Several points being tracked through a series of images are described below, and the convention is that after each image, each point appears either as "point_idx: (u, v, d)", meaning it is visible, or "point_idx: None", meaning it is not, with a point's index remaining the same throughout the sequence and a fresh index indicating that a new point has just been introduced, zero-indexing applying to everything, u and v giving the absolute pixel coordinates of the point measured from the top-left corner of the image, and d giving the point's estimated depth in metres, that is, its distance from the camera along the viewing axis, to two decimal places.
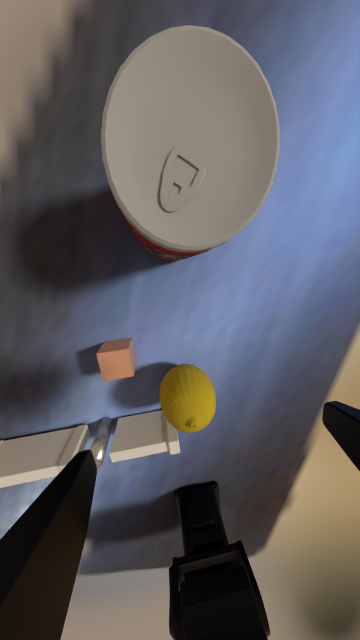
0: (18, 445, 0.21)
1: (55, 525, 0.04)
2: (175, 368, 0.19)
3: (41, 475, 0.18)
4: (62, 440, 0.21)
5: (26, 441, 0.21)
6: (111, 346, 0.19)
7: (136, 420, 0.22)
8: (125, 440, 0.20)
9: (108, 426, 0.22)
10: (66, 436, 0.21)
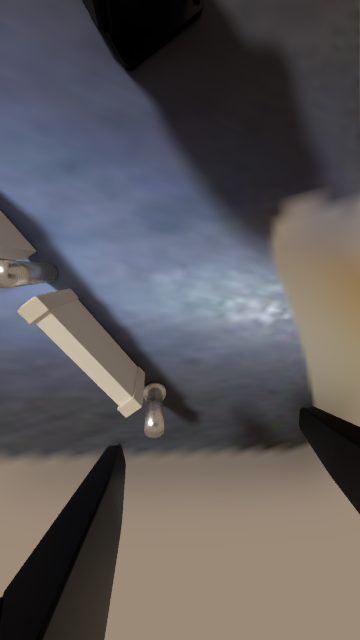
0: None
1: (99, 516, 0.04)
2: None
3: (64, 336, 0.12)
4: None
5: None
6: None
7: None
8: None
9: None
10: None
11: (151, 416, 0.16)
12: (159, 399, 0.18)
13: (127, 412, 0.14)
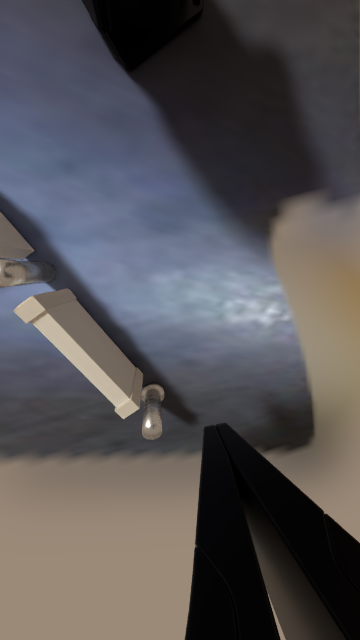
0: None
1: (235, 484, 0.05)
2: None
3: (61, 336, 0.12)
4: None
5: None
6: None
7: None
8: None
9: None
10: None
11: (148, 418, 0.16)
12: (157, 400, 0.18)
13: (124, 413, 0.14)
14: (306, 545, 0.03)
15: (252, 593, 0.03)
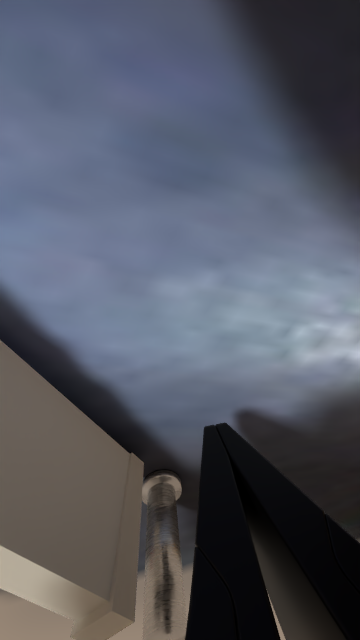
0: None
1: (235, 484, 0.05)
2: None
3: None
4: None
5: None
6: None
7: None
8: None
9: None
10: None
11: (157, 600, 0.07)
12: (172, 521, 0.09)
13: (97, 638, 0.06)
14: (306, 545, 0.03)
15: (252, 593, 0.03)
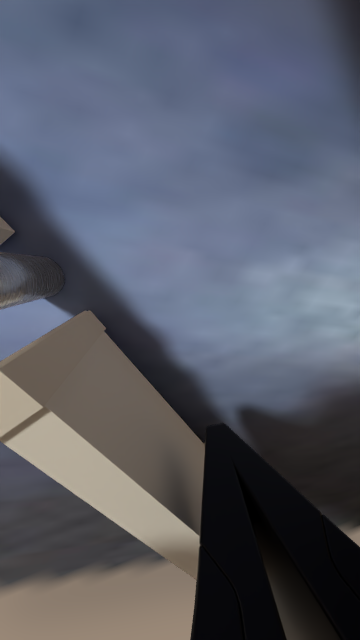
0: None
1: (238, 484, 0.05)
2: None
3: (89, 467, 0.04)
4: None
5: None
6: None
7: None
8: None
9: None
10: None
11: None
12: None
13: None
14: (303, 546, 0.03)
15: (257, 592, 0.03)
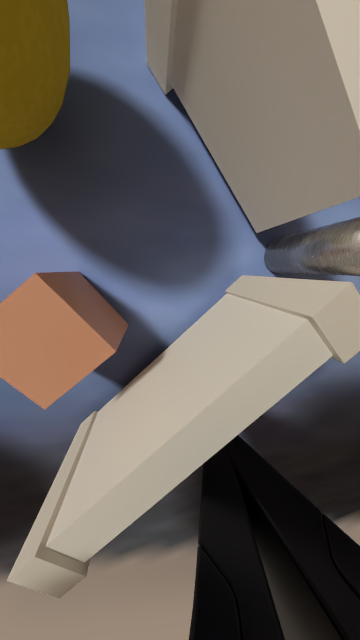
0: (129, 395, 0.08)
1: (237, 483, 0.05)
2: None
3: (261, 395, 0.04)
4: (221, 318, 0.07)
5: (140, 380, 0.08)
6: None
7: (237, 171, 0.07)
8: (304, 155, 0.04)
9: (283, 249, 0.07)
10: (222, 311, 0.07)
11: None
12: None
13: (29, 578, 0.05)
14: (303, 545, 0.03)
15: (256, 592, 0.03)
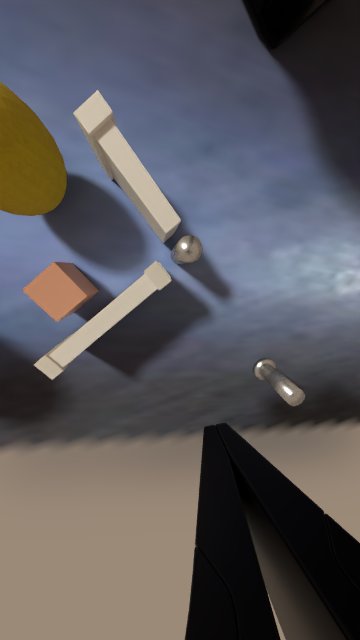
0: None
1: (235, 484, 0.05)
2: None
3: (131, 301, 0.12)
4: None
5: None
6: None
7: (144, 216, 0.14)
8: (151, 218, 0.12)
9: (172, 251, 0.15)
10: None
11: (289, 386, 0.16)
12: None
13: (41, 365, 0.12)
14: (306, 545, 0.03)
15: (252, 593, 0.03)
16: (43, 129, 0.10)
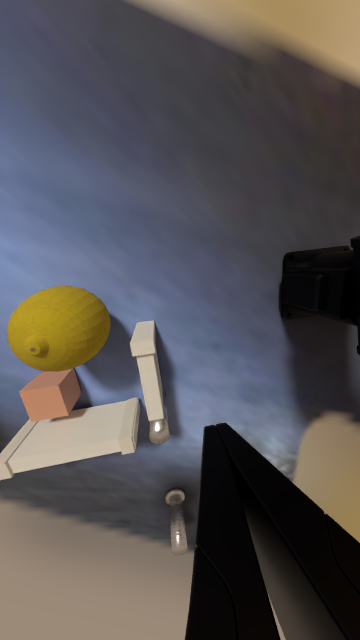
0: (61, 420, 0.18)
1: (235, 484, 0.05)
2: None
3: (97, 451, 0.15)
4: (113, 414, 0.18)
5: (70, 415, 0.18)
6: None
7: None
8: None
9: None
10: (117, 410, 0.18)
11: (180, 536, 0.20)
12: (182, 512, 0.22)
13: None
14: (306, 545, 0.03)
15: (252, 593, 0.03)
16: (105, 334, 0.13)
